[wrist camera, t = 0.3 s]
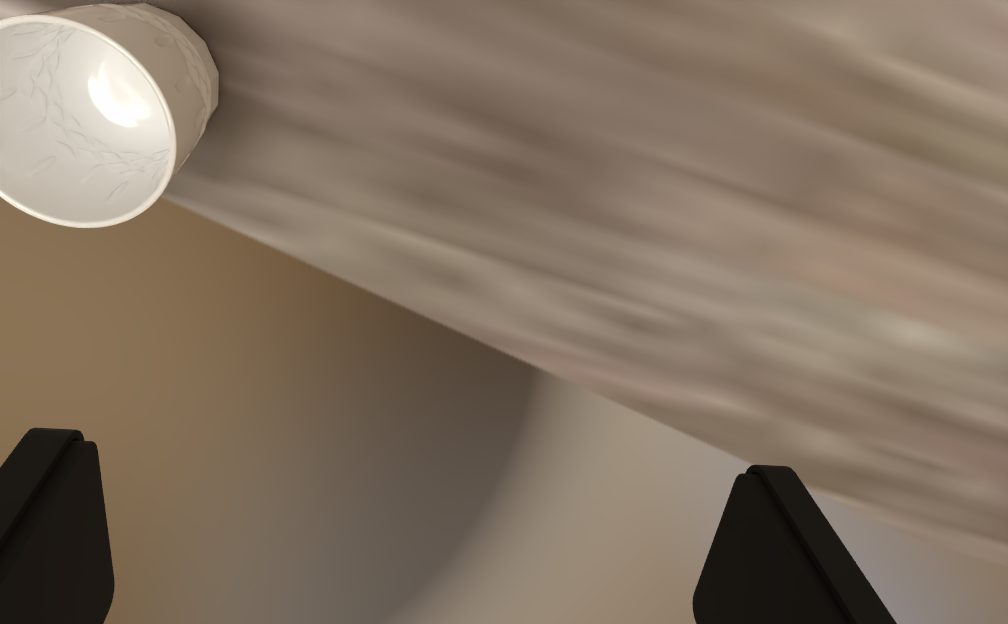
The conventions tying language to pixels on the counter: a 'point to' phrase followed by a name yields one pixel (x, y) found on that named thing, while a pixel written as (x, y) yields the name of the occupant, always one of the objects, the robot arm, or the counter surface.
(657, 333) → the counter surface
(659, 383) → the counter surface
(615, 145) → the counter surface
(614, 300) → the counter surface
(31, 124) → the white cup
